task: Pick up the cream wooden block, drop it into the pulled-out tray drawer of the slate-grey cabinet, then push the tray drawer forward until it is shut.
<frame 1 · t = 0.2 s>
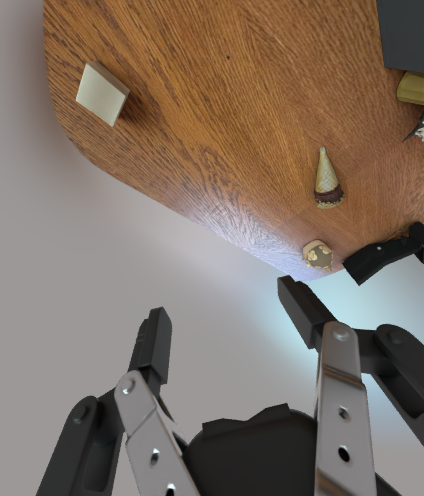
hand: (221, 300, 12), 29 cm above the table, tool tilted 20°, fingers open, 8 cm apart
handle: (365, 247, 72), on the table
ice cream cone: (321, 147, 34), on the table
knife: (380, 242, 68), on the table
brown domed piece: (320, 261, 69), point 1 cm above the table
vase: (416, 76, 28), on the table, touching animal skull
block: (108, 91, 24), on the table
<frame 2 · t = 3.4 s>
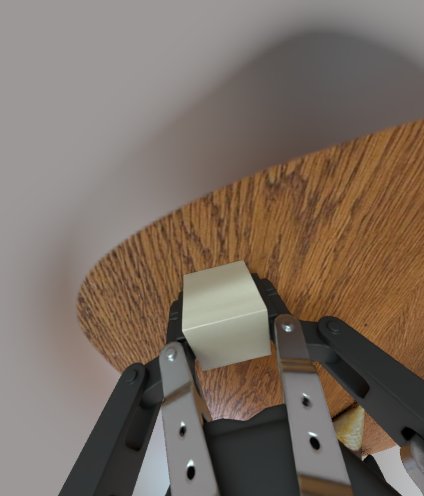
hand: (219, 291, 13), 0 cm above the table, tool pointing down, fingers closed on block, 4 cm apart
ice cream cone: (363, 401, 29), on the table
block: (219, 288, 13), on the table, touching gripper
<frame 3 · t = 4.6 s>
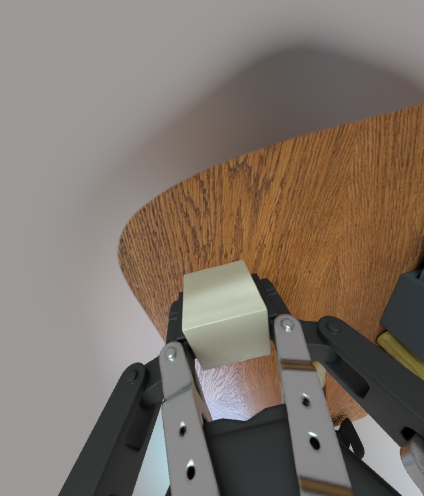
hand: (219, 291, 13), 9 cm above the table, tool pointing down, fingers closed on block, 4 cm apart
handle: (302, 424, 69), on the table, touching knife
ice cream cone: (325, 347, 37), on the table
cabinet: (420, 292, 32), on the table
vase: (389, 334, 38), on the table, touching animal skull
block: (219, 288, 13), point 9 cm above the table, touching gripper
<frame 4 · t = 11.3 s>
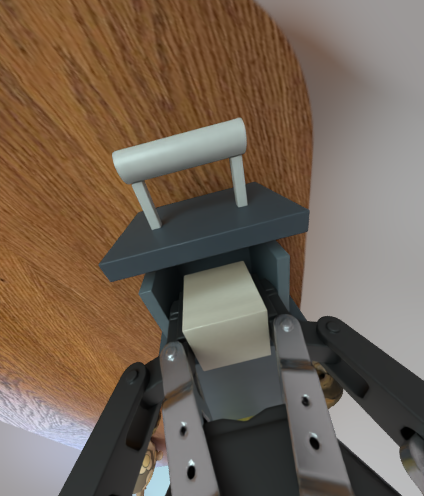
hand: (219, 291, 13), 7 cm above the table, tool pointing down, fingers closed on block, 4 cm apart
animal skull: (291, 430, 21), point 11 cm above the table, touching vase
cabinet: (226, 306, 24), on the table
drawer: (211, 256, 14), point 5 cm above the table, slide at 8.0 cm
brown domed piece: (151, 457, 52), point 1 cm above the table
block: (219, 289, 13), point 7 cm above the table, touching gripper
when the fingers open (9 cm above the table, at t = 18.8 s): block drops 7 cm, resting on drawer.
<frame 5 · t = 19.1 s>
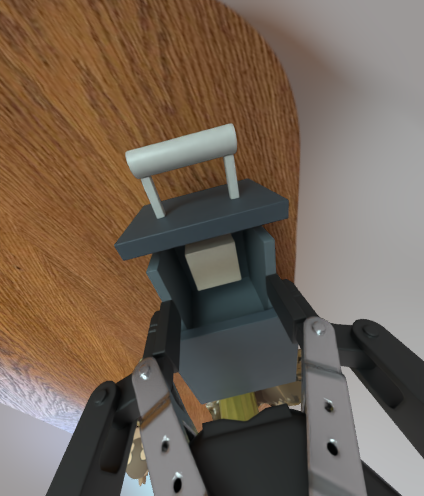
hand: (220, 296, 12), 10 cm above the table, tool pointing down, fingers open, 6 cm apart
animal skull: (283, 408, 23), point 11 cm above the table, touching vase
cabinet: (223, 295, 26), on the table
drawer: (208, 244, 15), point 5 cm above the table, slide at 7.9 cm, touching block
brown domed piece: (152, 447, 54), point 1 cm above the table
vase: (226, 343, 32), on the table, touching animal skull
block: (210, 244, 19), point 2 cm above the table, touching drawer
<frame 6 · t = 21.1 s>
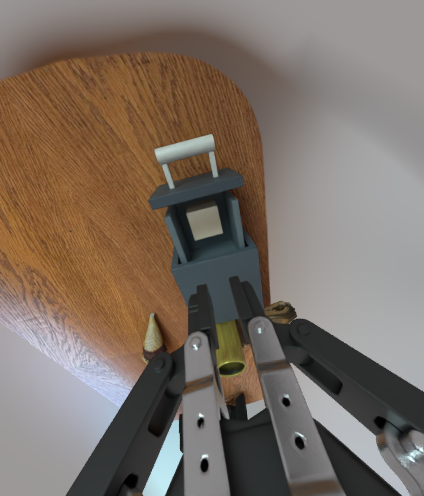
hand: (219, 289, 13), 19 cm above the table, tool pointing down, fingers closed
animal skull: (257, 336, 31), point 11 cm above the table, touching vase
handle: (207, 401, 72), on the table, touching knife
ice cream cone: (152, 313, 39), on the table
cabinet: (215, 258, 34), on the table
knife: (218, 401, 70), on the table, touching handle
drawer: (201, 209, 24), point 5 cm above the table, slide at 7.9 cm, touching block
vase: (218, 302, 41), on the table, touching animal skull
block: (203, 213, 27), point 2 cm above the table, touching drawer
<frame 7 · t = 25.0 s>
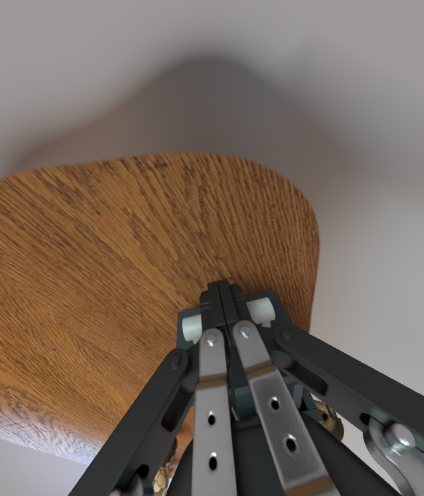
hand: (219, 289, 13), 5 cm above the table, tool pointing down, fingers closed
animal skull: (299, 471, 24), point 11 cm above the table, touching vase
ice cream cone: (160, 408, 32), on the table
cabinet: (240, 357, 27), on the table
drawer: (238, 355, 17), point 5 cm above the table, slide at 6.7 cm, touching block, gripper
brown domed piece: (162, 473, 55), point 1 cm above the table
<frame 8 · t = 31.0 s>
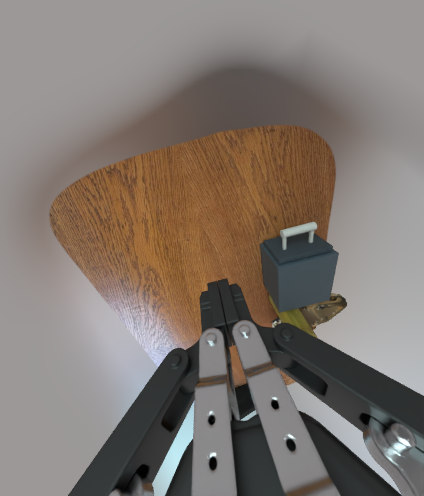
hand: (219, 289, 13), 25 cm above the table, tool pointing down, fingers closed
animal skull: (321, 319, 41), point 11 cm above the table, touching vase
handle: (245, 384, 82), on the table, touching knife
cabinet: (284, 259, 44), on the table
drawer: (294, 257, 38), point 5 cm above the table, slide at 0.0 cm, touching block
vase: (277, 294, 51), on the table, touching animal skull
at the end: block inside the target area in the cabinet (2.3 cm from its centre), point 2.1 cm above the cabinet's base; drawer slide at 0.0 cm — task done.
